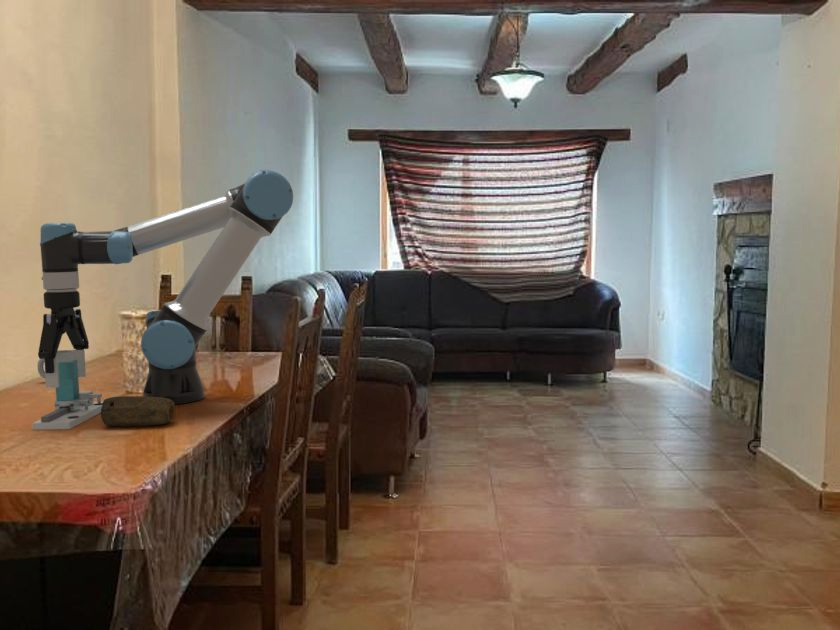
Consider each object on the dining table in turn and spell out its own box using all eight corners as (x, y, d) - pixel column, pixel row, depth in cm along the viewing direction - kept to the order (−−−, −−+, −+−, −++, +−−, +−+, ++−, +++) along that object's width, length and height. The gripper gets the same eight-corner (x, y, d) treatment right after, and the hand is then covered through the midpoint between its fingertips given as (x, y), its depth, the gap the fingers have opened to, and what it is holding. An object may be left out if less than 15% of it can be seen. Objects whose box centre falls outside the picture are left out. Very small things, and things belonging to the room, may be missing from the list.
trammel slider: (92, 407, 182) (89, 359, 181) (85, 411, 178) (82, 362, 177) (63, 407, 182) (60, 360, 181) (55, 411, 178) (52, 362, 177)
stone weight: (99, 431, 167) (97, 400, 166) (108, 423, 174) (106, 394, 173) (171, 427, 169) (169, 397, 168) (176, 420, 175) (175, 391, 175)
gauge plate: (109, 407, 190) (108, 389, 190) (69, 429, 168) (68, 408, 168) (77, 408, 190) (76, 390, 190) (32, 429, 168) (31, 409, 168)
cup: (72, 383, 226) (70, 352, 225) (35, 385, 223) (33, 354, 222) (77, 378, 233) (75, 349, 232) (41, 380, 230) (39, 351, 229)
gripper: (69, 287, 190) (74, 372, 192) (16, 294, 165) (23, 392, 167) (100, 287, 190) (104, 372, 192) (51, 294, 165) (57, 391, 167)
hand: (66, 381), depth 179 cm, fingers open, 13 cm apart
